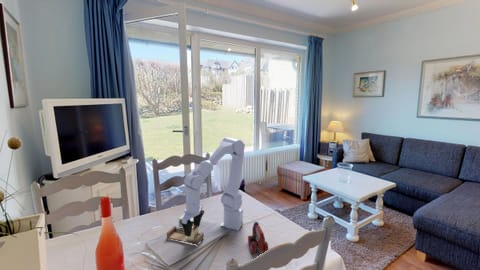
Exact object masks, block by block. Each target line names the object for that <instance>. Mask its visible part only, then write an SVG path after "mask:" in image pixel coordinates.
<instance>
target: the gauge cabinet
mask: <svg viewBox="0 0 480 270" xmlns="http://www.w3.org/2000/svg"><path fill="white" fill-rule="evenodd" d="M184 214H185V213H182V215H181V216H180V217H179V218H178V228H179V227H182V225H181V224H180V220H181V219H182V218H183V217H184ZM190 220H191V221H192V222H194V219H193V218H191V219H190ZM193 225H194V224H193Z"/></svg>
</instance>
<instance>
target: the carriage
mask: <svg viewBox="0 0 480 270" xmlns="http://www.w3.org/2000/svg"><path fill="white" fill-rule="evenodd" d="M198 233H199V227H198V226H195V225H193V226H192V231H191V236H190V237H188V236H187V237H186V240H188V241H192V242H195V240H196V238H197V237H198Z"/></svg>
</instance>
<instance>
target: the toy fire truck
mask: <svg viewBox="0 0 480 270" xmlns="http://www.w3.org/2000/svg"><path fill="white" fill-rule="evenodd" d="M247 244H248V246H249V248H250V253H251V254H256V251H257V252H258V253H266V252H265V251H267V250H268V251H269V244H268V242H267V241H266V238H265V234H264V232H263V230H262V228H261V226H260V224H259V222H258V221H255V222H253V226H252V234H251V235H248V236H247Z"/></svg>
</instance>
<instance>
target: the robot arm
mask: <svg viewBox="0 0 480 270" xmlns="http://www.w3.org/2000/svg"><path fill="white" fill-rule="evenodd" d="M245 145H246V144H245V143H244V141H243V140H241V139H236V138H232V137H229V136H225V137H224V138H223V139H222V140H221V141H220V143H219V146H218V147H217V149H215V151H213V153H212V154H211V156H209V158H208V159H207V160H202V161H201V162H200V163H199V164H198V165H197V167H196V168H195V169H194V170H192V172H189V173H187V174H186V176H185V178H184V179H183V184H184V186H185V189H186V190H185V192H186V193H185V194H186V195H185V203H186V204H185V209H183V214H184V217H183V218H182V219H181V220H180V224H181V225H182V227H183V229H182V230H184V232H185V236H188V237H190V236H191V231H192V226H193V224H194V225H195V226H198V228H199V227H200V225H201V221H202V218H203V216H204V214H205V210H204V209H203V205H204V204H201V188H202V187H203V185H204V182H205V180H206V178H207V177H208V176H209V174H211V173H212V171H213V170H214V166H215V164H216V163H218V162H219V161H220V160H221V159H222V158H223V157H224V156H225V155H230V156H231V163H230V164H231V165H230V171H229V177H228V184H227V188H225V189H223V194H222V195H221V196H220V197H221V198H220V201H221V204H222V206H223V221H222V222H221V224H220V225H221V226H225V227H226V228H227V229H231V230H235V231H239V230H240V229H241V226H242V225H243V223H244V209H242V208H241V207H242V205H243V199H242V197H243V195H242V193H241V192H240V190H239V189H240V182H241V175H242V169H243V162H244V157H245ZM191 218H193V219H194V222H192V221H191V220H190V219H191ZM221 226H220V227H221ZM225 227H224V228H225Z"/></svg>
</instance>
